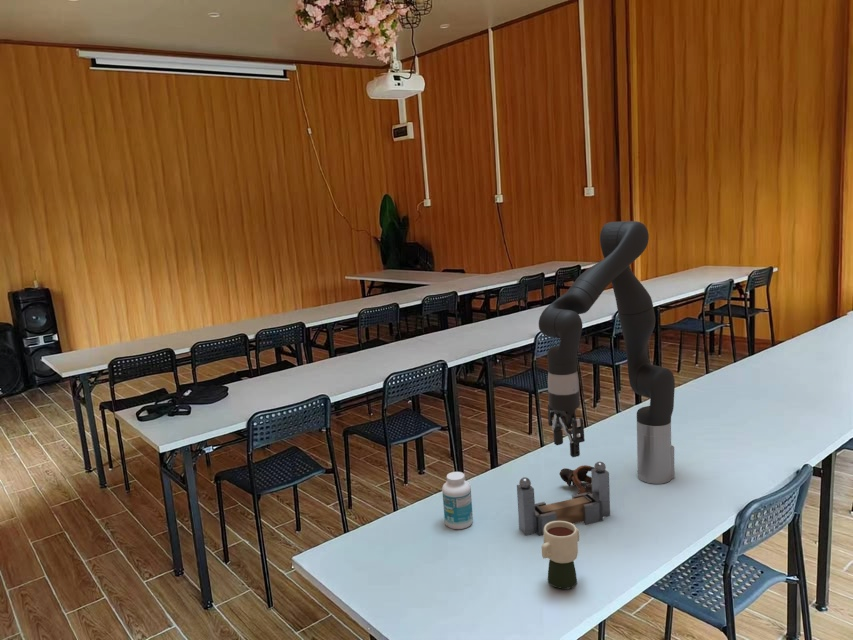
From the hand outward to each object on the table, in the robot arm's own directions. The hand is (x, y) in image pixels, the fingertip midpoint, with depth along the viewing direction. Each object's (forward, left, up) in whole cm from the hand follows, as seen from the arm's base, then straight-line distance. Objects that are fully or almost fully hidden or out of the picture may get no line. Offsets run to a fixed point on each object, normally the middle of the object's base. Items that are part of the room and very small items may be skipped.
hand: (566, 450), depth 165 cm
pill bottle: (+26, -11, -20) cm, 35 cm away
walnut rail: (+1, 0, -20) cm, 19 cm away
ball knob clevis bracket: (+1, 0, -19) cm, 19 cm away
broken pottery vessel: (-11, -14, -20) cm, 27 cm away
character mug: (+14, +23, -20) cm, 33 cm away
